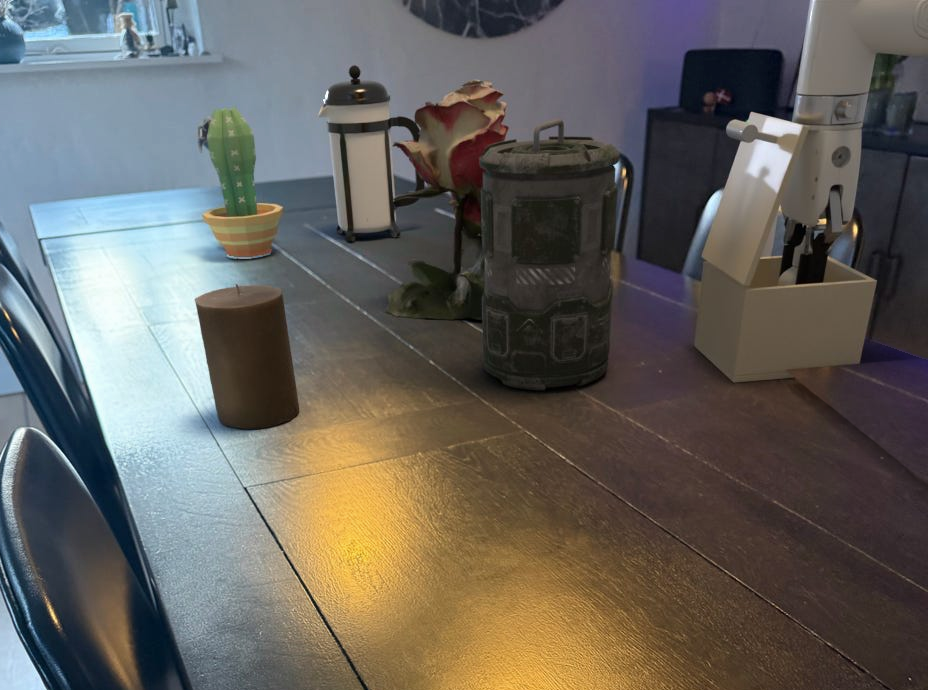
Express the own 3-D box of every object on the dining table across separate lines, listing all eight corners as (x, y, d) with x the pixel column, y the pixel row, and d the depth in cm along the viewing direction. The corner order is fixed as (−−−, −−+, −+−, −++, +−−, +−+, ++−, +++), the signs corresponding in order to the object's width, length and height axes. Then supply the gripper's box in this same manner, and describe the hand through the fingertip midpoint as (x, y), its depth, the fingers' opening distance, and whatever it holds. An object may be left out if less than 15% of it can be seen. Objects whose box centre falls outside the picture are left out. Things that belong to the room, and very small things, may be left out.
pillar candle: (301, 425, 107) (282, 290, 98) (215, 433, 106) (188, 298, 97) (298, 396, 115) (280, 269, 106) (218, 404, 113) (194, 276, 105)
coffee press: (380, 246, 183) (366, 68, 166) (317, 239, 190) (298, 68, 173) (429, 229, 194) (420, 61, 177) (368, 223, 202) (354, 61, 185)
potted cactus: (261, 242, 191) (240, 102, 176) (304, 252, 181) (286, 105, 167) (194, 256, 182) (167, 111, 168) (236, 267, 173) (211, 114, 159)
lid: (756, 113, 109) (718, 103, 108) (810, 126, 97) (767, 115, 96) (706, 258, 118) (670, 250, 116) (749, 286, 106) (709, 278, 104)
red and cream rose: (560, 327, 133) (566, 85, 116) (374, 317, 142) (353, 90, 125) (596, 282, 153) (605, 69, 136) (430, 276, 162) (419, 75, 145)
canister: (512, 346, 127) (511, 113, 111) (624, 358, 121) (640, 113, 105) (463, 384, 115) (453, 130, 99) (584, 399, 109) (595, 131, 93)
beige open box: (806, 337, 125) (821, 252, 119) (857, 372, 113) (877, 280, 107) (694, 346, 124) (703, 261, 118) (733, 382, 112) (745, 290, 106)
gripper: (899, 117, 96) (861, 299, 107) (827, 103, 110) (800, 265, 120) (829, 122, 96) (798, 303, 106) (766, 107, 109) (744, 269, 120)
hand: (800, 281), depth 113 cm, fingers closed on eye dropper bottle, 4 cm apart
